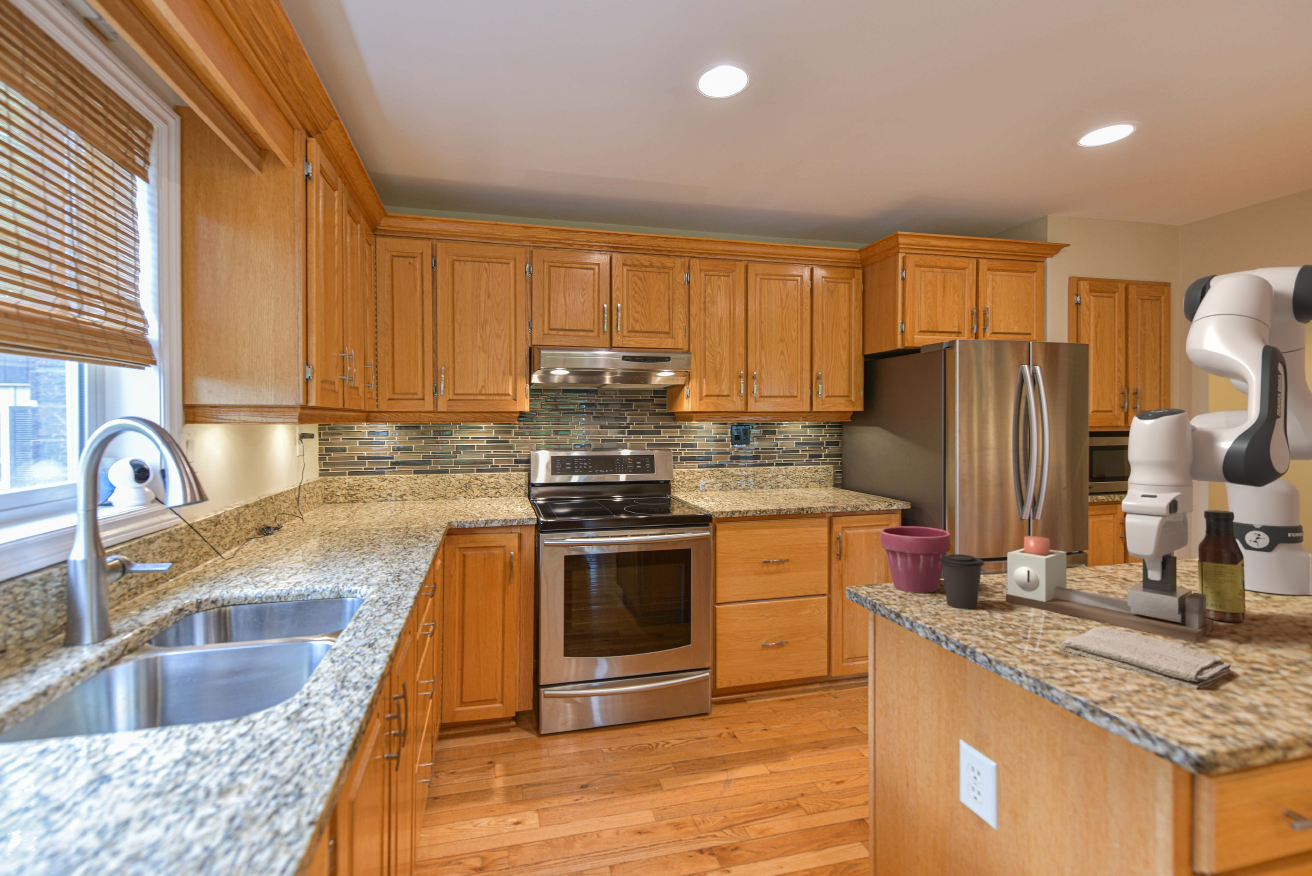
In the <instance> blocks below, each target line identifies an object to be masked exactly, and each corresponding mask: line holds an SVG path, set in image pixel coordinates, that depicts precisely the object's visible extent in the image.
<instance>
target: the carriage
mask: <svg viewBox="0 0 1312 876" xmlns="http://www.w3.org/2000/svg"><path fill="white" fill-rule="evenodd" d="M1177 559H1178V558H1177V556H1175V555H1174V556H1168V555H1164V556H1162V561H1161V565H1162V570H1163V578H1162V579H1161V580H1158V581H1157V580H1151V579H1149V578H1148V569H1147V565H1146V562H1145V559H1142V581H1141V582H1139V583H1137V584H1135V585H1133V586H1131V587H1128V588H1127V600H1128V606H1131V613H1135V614H1140V615H1145V616H1150V617H1155V618H1160V619H1165V620H1170V621H1175V622H1180V623H1181V622H1183V612H1184V611H1186V597H1187V596H1189V595H1191V594H1193V592H1192V591H1193V589H1189V588H1185V587H1184V588H1182V587H1177V578H1178V577H1177V575H1178V574H1177V569H1178V567H1177V564H1178V563H1177Z"/></svg>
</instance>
